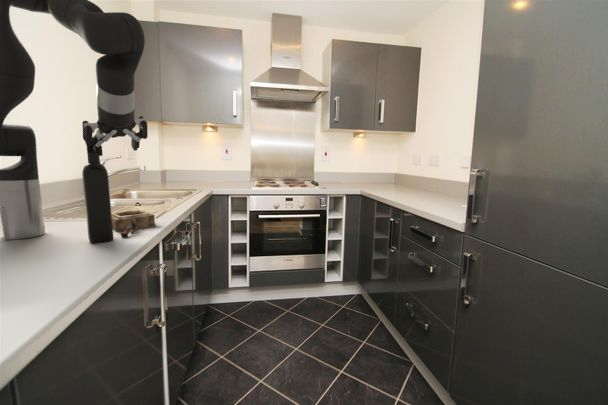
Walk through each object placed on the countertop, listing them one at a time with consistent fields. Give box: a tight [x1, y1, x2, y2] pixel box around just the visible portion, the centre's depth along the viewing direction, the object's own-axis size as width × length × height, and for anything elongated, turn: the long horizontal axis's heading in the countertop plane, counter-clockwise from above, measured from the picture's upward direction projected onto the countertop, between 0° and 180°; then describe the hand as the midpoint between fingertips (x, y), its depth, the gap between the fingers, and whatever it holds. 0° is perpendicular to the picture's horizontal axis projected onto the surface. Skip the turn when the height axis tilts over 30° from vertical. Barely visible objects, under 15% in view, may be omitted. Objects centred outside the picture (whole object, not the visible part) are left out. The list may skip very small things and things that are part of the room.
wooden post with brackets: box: [120, 219, 138, 238], centre depth 93 cm, size 2×8×4 cm, turn 6°
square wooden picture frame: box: [111, 209, 156, 233], centre depth 104 cm, size 12×12×5 cm
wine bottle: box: [81, 145, 114, 245], centre depth 84 cm, size 6×6×30 cm
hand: (117, 151), depth 80 cm, fingers open, 8 cm apart
